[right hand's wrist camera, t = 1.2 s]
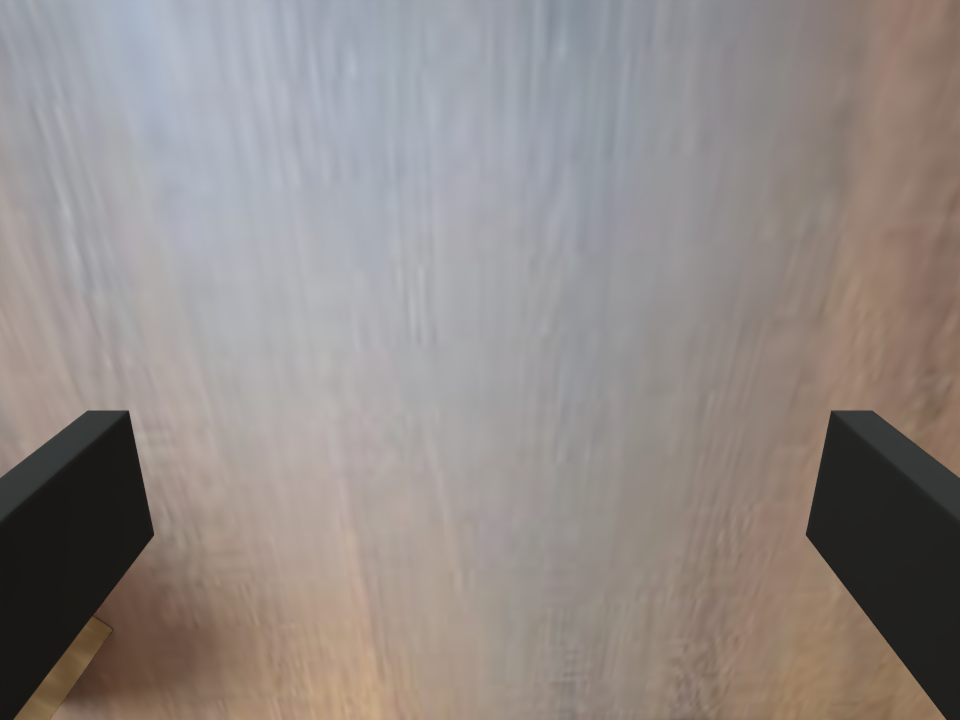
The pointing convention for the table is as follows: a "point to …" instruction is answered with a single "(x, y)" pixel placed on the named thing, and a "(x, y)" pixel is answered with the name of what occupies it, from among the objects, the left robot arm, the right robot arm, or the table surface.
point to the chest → (65, 672)
